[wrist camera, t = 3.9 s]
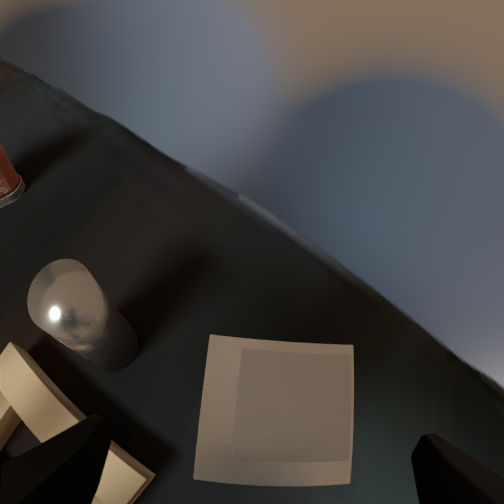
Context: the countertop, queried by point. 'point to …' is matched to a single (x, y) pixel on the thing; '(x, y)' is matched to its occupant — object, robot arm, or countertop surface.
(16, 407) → the socket block
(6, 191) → the lighter
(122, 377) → the countertop surface
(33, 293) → the round peg
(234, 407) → the square bit
